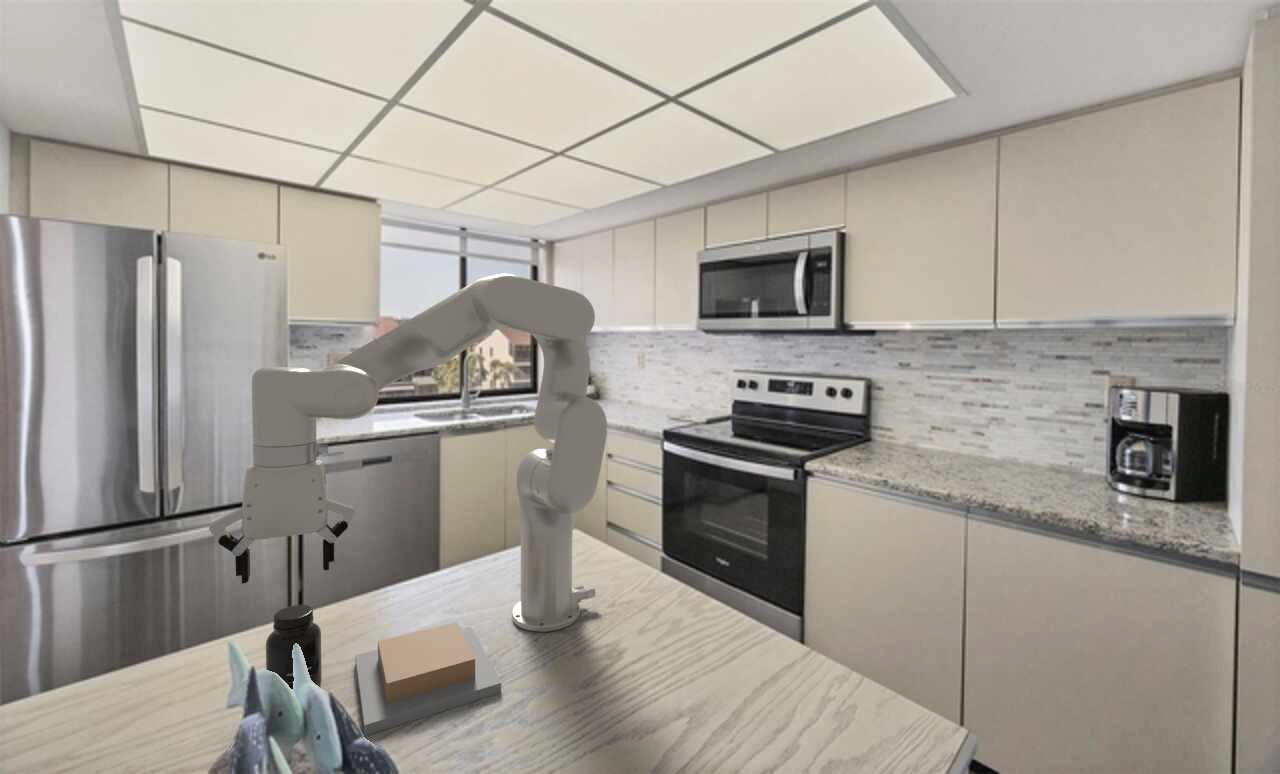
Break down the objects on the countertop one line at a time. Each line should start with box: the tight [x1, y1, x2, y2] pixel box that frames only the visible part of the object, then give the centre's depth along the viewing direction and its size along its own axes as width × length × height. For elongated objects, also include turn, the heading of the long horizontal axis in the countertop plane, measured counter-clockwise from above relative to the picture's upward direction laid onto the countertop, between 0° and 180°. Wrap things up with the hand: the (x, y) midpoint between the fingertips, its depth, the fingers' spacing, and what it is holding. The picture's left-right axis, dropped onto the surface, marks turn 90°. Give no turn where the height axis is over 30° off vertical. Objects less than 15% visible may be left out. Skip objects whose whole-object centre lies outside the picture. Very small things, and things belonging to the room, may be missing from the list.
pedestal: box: [354, 621, 502, 737], centre depth 83 cm, size 18×18×4 cm
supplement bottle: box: [265, 604, 323, 689], centre depth 79 cm, size 7×7×12 cm
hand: (287, 573), depth 78 cm, fingers open, 9 cm apart
